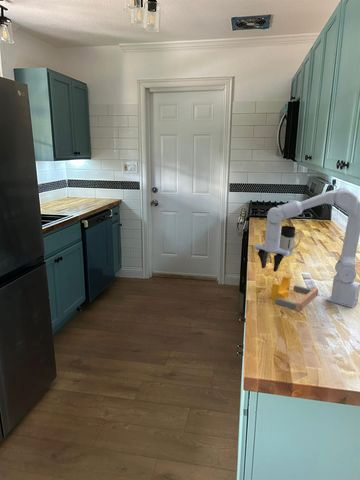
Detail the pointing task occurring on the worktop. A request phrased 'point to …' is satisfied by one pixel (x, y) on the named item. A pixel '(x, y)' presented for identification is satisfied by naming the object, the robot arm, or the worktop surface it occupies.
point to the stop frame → (303, 301)
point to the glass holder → (288, 238)
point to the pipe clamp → (281, 288)
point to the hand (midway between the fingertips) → (269, 269)
